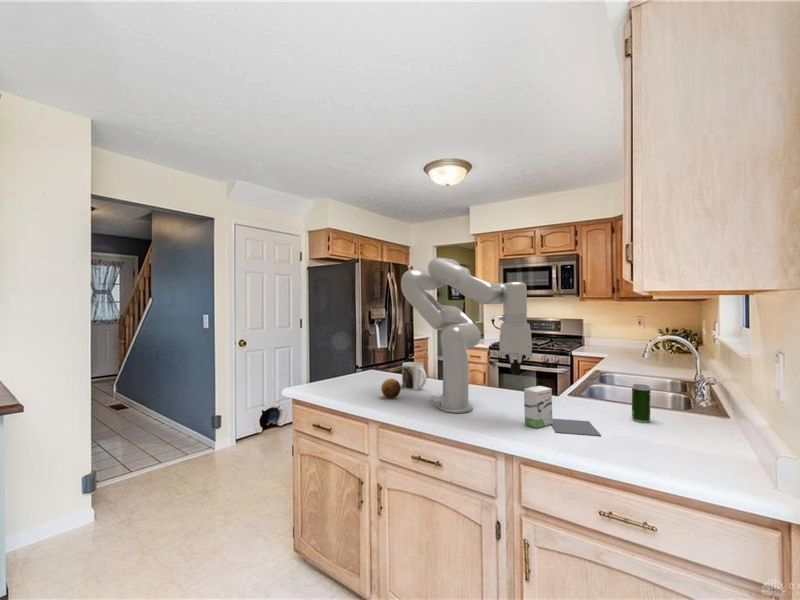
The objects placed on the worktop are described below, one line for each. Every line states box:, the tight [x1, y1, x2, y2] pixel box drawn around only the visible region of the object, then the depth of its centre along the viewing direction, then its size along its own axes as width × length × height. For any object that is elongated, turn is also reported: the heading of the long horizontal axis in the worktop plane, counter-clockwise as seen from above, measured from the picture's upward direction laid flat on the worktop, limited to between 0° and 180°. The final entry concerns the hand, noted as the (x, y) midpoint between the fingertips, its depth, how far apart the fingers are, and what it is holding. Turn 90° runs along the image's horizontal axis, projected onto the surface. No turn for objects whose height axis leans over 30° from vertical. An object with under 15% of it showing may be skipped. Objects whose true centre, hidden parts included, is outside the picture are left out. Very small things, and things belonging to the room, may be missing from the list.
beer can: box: [631, 383, 652, 424], centre depth 132 cm, size 5×5×12 cm
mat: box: [550, 418, 602, 437], centre depth 125 cm, size 13×14×1 cm
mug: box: [401, 361, 427, 391], centre depth 177 cm, size 10×12×11 cm
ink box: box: [523, 385, 553, 429], centre depth 127 cm, size 9×5×12 cm, turn 123°
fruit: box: [380, 378, 402, 400], centre depth 159 cm, size 8×8×8 cm
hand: (515, 374), depth 128 cm, fingers closed
